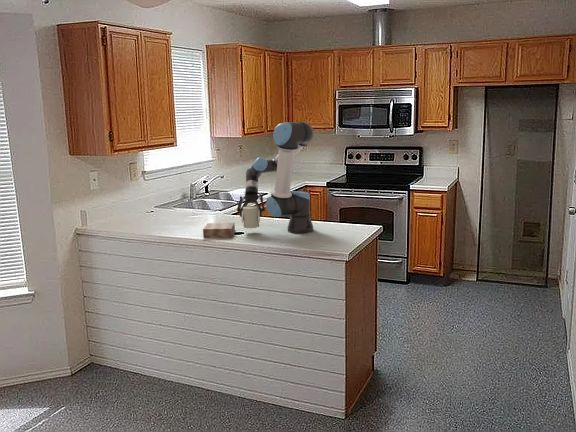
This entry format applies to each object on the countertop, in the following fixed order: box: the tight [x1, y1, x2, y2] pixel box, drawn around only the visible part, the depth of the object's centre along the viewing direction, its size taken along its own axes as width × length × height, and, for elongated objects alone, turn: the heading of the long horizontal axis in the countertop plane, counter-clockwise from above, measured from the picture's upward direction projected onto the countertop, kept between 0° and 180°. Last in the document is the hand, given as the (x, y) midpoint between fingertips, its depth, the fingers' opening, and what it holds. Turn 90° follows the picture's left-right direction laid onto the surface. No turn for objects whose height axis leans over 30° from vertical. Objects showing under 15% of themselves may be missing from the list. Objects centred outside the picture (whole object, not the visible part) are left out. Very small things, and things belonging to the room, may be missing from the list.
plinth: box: [202, 222, 236, 239], centre depth 326 cm, size 16×16×5 cm
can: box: [243, 205, 260, 229], centre depth 325 cm, size 9×9×12 cm
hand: (250, 221), depth 322 cm, fingers closed on can, 9 cm apart
